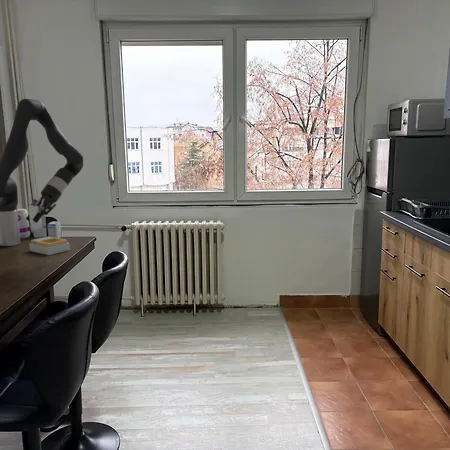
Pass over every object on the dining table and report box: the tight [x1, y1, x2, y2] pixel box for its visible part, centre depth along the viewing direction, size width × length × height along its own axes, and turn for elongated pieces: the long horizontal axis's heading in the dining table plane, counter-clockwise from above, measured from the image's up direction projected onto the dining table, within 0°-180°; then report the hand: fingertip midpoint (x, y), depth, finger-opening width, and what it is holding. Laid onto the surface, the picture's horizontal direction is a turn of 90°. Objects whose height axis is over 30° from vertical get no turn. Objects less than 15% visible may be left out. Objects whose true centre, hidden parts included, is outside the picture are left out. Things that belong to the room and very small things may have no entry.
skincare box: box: [33, 215, 48, 239], centre depth 228 cm, size 6×4×12 cm
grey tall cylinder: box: [27, 201, 42, 233], centre depth 177 cm, size 4×4×12 cm
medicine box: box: [47, 221, 62, 239], centre depth 223 cm, size 8×4×9 cm, turn 4°
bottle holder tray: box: [28, 236, 71, 256], centre depth 198 cm, size 15×11×5 cm
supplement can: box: [17, 208, 31, 239], centre depth 227 cm, size 8×8×15 cm
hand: (31, 220), depth 176 cm, fingers closed on grey tall cylinder, 4 cm apart
